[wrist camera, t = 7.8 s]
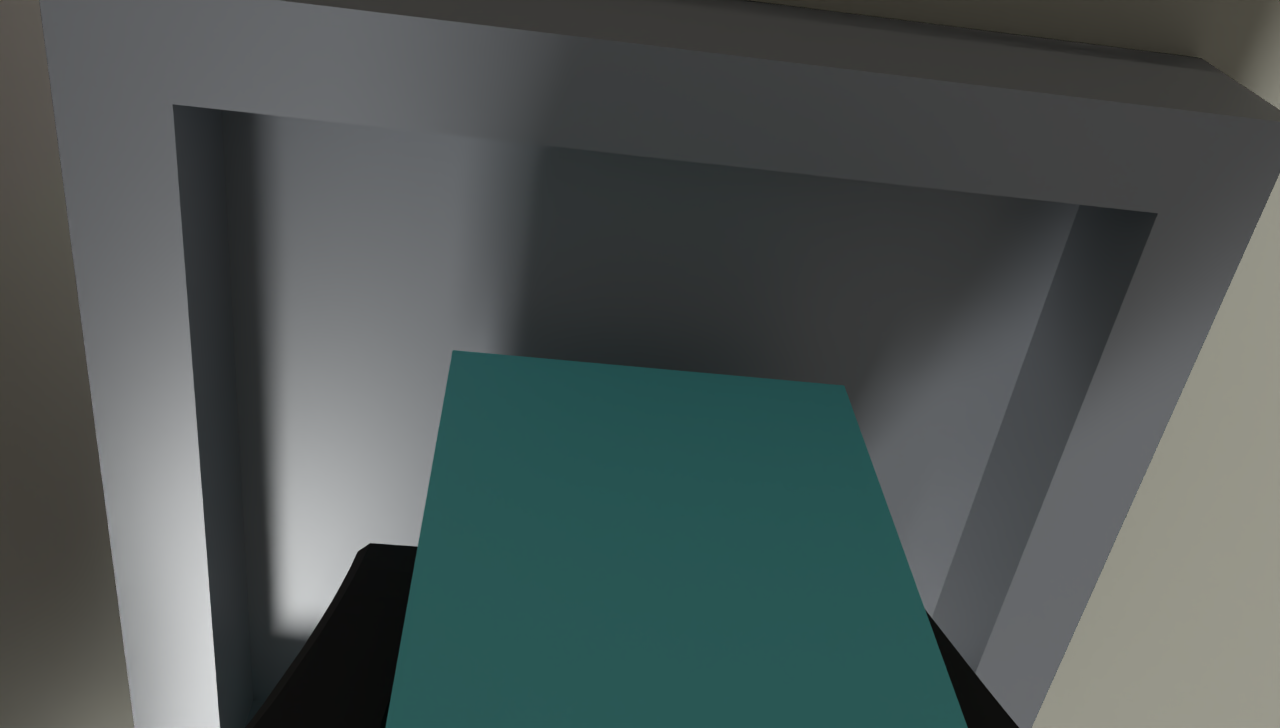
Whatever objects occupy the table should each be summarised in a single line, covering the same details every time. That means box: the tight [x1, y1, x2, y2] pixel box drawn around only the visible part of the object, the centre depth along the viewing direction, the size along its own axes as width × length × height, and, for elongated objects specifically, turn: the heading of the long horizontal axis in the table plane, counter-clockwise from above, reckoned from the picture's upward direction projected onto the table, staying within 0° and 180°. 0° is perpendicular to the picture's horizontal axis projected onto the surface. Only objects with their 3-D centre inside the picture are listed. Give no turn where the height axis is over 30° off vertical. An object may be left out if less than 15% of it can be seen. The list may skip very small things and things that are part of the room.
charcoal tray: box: [39, 0, 1280, 728], centre depth 14 cm, size 11×11×2 cm
